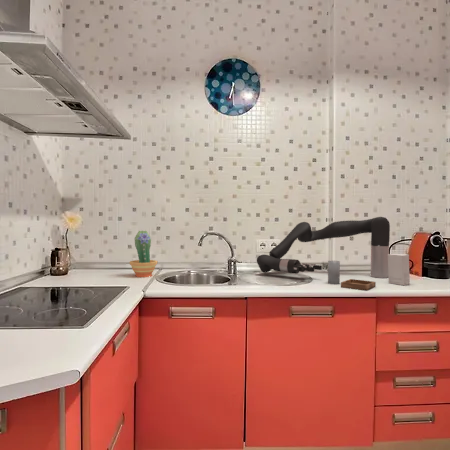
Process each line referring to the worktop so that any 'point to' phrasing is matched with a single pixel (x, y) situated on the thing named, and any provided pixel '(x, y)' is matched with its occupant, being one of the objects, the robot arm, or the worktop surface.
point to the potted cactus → (143, 256)
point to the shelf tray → (358, 284)
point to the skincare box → (398, 269)
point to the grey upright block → (334, 272)
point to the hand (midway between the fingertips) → (317, 268)
